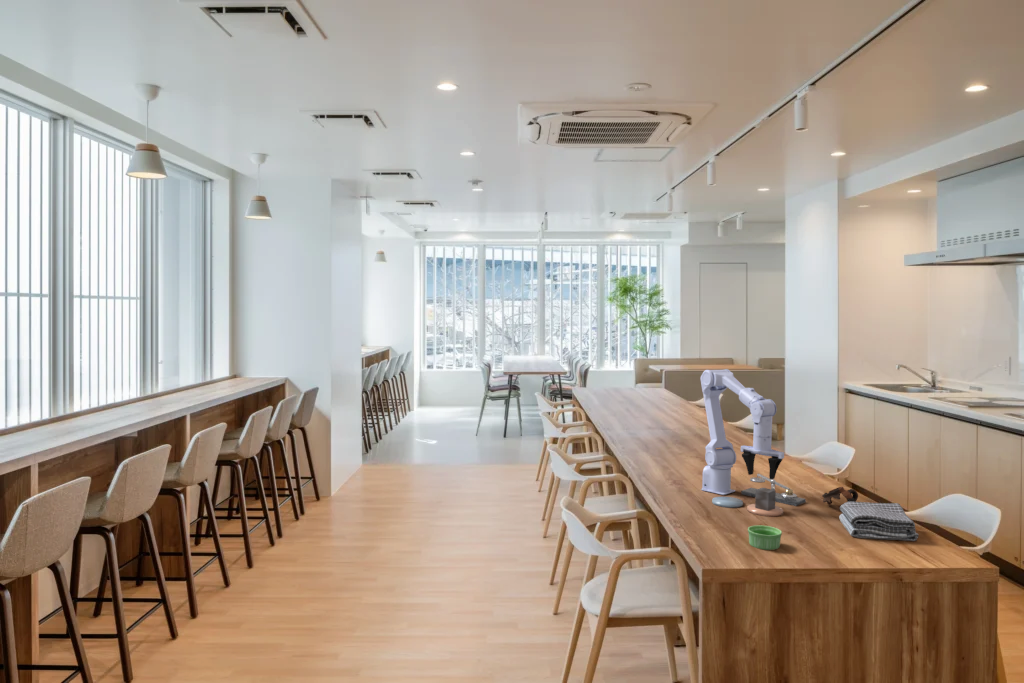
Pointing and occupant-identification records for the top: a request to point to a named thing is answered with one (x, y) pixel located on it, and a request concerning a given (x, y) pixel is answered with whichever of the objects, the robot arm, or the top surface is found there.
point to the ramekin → (764, 537)
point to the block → (765, 499)
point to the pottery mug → (836, 494)
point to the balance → (781, 498)
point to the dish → (773, 512)
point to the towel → (877, 521)
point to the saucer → (727, 502)
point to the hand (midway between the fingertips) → (761, 476)
